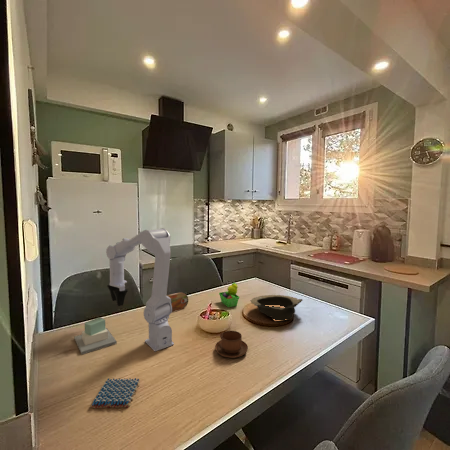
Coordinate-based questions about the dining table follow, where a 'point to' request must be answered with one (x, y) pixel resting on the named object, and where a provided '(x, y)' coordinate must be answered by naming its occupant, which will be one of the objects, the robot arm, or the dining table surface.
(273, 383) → the dining table surface
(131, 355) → the dining table surface
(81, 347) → the baseplate
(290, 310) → the stone bowl
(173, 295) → the tin
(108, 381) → the woven mat
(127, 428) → the dining table surface
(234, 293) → the fruit basket
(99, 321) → the brick
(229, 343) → the cup and saucer
